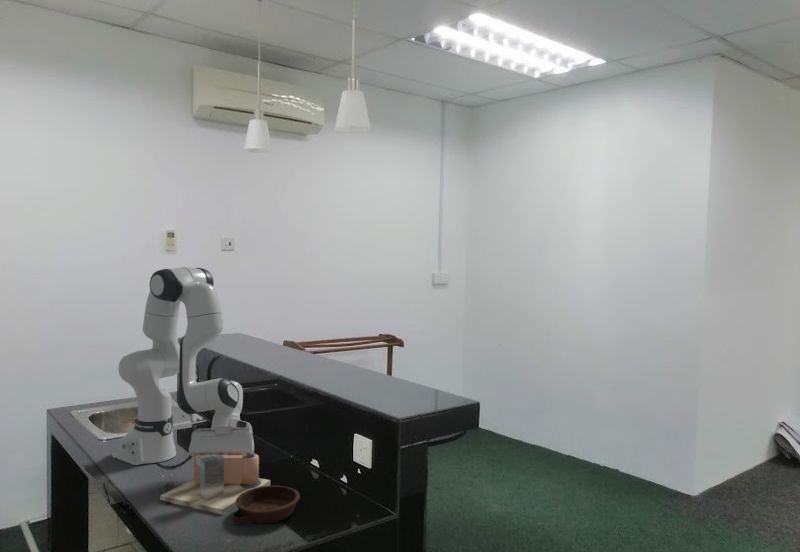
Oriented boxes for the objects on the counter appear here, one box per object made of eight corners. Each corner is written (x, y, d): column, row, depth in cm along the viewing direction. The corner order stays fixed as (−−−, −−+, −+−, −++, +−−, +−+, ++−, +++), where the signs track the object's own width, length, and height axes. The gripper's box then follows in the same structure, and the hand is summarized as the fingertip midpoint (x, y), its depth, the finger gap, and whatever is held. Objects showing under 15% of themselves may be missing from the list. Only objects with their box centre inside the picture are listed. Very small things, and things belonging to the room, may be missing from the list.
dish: (317, 510, 170) (318, 493, 169) (254, 538, 153) (254, 520, 152) (279, 493, 181) (279, 477, 180) (216, 518, 164) (216, 500, 163)
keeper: (215, 489, 179) (215, 452, 178) (223, 494, 175) (223, 456, 175) (196, 495, 174) (196, 457, 174) (204, 500, 171) (204, 461, 170)
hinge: (150, 434, 235) (148, 409, 237) (147, 435, 238) (145, 410, 241) (192, 427, 245) (190, 403, 247) (189, 428, 248) (187, 404, 251)
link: (260, 478, 186) (260, 450, 185) (256, 484, 181) (257, 455, 180) (197, 478, 185) (197, 450, 184) (192, 485, 180) (192, 455, 180)
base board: (160, 500, 174) (160, 494, 174) (212, 473, 195) (212, 467, 195) (222, 514, 165) (222, 508, 165) (270, 484, 186) (270, 479, 186)
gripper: (191, 424, 190) (182, 464, 181) (254, 423, 192) (249, 463, 183) (195, 433, 195) (186, 473, 186) (257, 432, 197) (252, 472, 188)
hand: (218, 468), depth 184 cm, fingers closed, pressing on link
